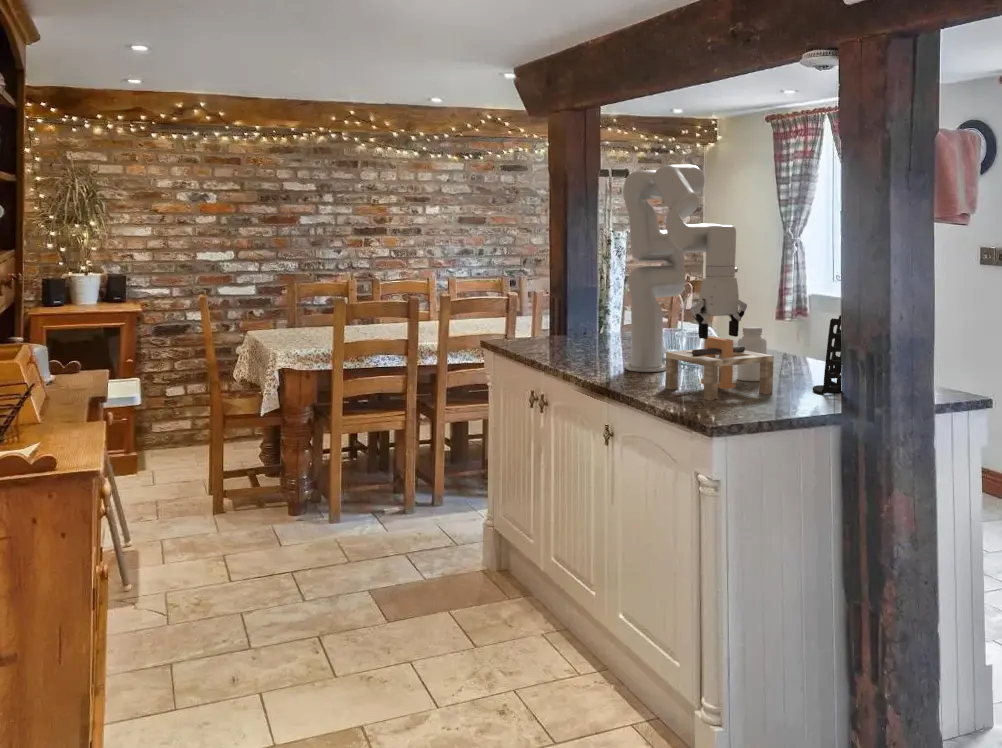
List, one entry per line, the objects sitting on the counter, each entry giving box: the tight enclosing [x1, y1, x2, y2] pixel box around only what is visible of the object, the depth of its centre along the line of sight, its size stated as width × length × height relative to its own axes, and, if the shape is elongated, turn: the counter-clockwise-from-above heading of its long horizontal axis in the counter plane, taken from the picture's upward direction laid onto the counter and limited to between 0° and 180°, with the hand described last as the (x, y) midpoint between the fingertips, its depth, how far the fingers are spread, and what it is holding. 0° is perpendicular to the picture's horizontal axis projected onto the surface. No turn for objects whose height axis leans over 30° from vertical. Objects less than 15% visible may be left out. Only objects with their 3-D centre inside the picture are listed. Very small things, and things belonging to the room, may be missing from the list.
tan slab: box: [700, 336, 736, 390], centre depth 249 cm, size 4×10×13 cm, turn 22°
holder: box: [812, 314, 842, 396], centre depth 244 cm, size 11×8×20 cm
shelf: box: [664, 345, 774, 401], centre depth 249 cm, size 20×20×12 cm
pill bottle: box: [736, 326, 767, 382], centre depth 265 cm, size 8×8×15 cm
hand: (718, 337), depth 248 cm, fingers open, 9 cm apart
